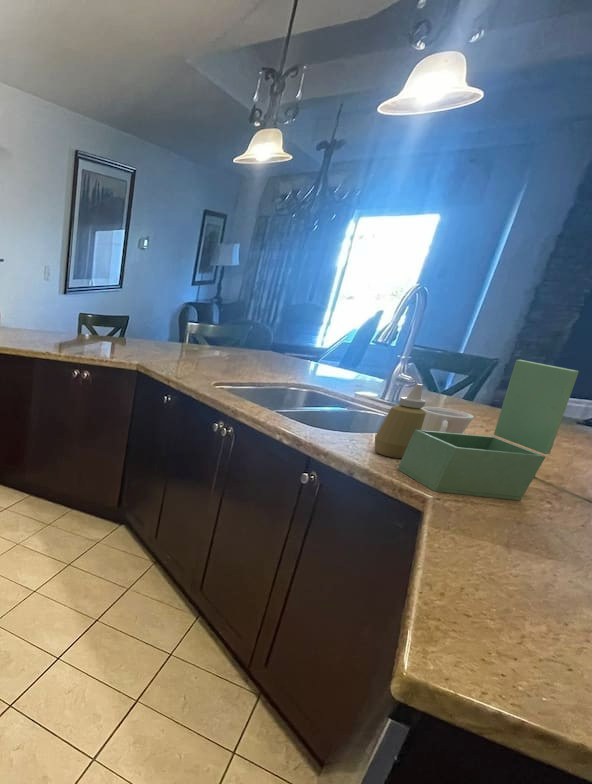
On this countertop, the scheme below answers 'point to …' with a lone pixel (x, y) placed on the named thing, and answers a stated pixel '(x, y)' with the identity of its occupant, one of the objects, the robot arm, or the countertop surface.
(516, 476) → the tea tin
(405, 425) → the squeeze bottle
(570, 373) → the tin lid
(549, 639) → the countertop surface
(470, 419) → the mug
